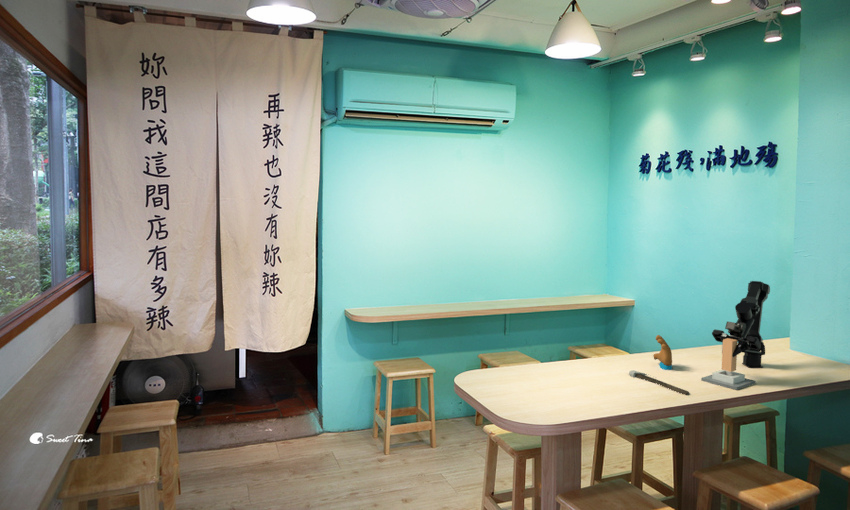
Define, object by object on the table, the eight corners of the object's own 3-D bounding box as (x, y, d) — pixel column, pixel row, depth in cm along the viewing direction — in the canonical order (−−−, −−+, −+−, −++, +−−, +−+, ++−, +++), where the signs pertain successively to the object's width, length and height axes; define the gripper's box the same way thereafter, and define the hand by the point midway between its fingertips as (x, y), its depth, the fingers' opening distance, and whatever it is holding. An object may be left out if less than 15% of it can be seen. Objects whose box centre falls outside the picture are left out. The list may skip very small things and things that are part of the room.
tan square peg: (726, 367, 245) (728, 338, 244) (736, 370, 242) (737, 340, 241) (721, 369, 243) (723, 339, 242) (730, 371, 240) (732, 341, 238)
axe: (680, 390, 226) (627, 369, 253) (679, 397, 226) (626, 375, 253) (701, 391, 230) (647, 370, 258) (700, 397, 230) (647, 375, 258)
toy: (652, 362, 272) (653, 331, 271) (668, 363, 271) (669, 332, 269) (657, 370, 260) (658, 337, 259) (673, 371, 259) (675, 338, 257)
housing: (720, 374, 253) (720, 366, 253) (755, 383, 241) (755, 375, 241) (701, 380, 245) (701, 372, 245) (736, 390, 233) (736, 381, 232)
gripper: (715, 311, 250) (699, 339, 245) (759, 318, 235) (743, 348, 230) (724, 326, 255) (709, 354, 250) (767, 334, 240) (752, 364, 235)
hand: (727, 355), depth 241 cm, fingers closed on tan square peg, 4 cm apart
